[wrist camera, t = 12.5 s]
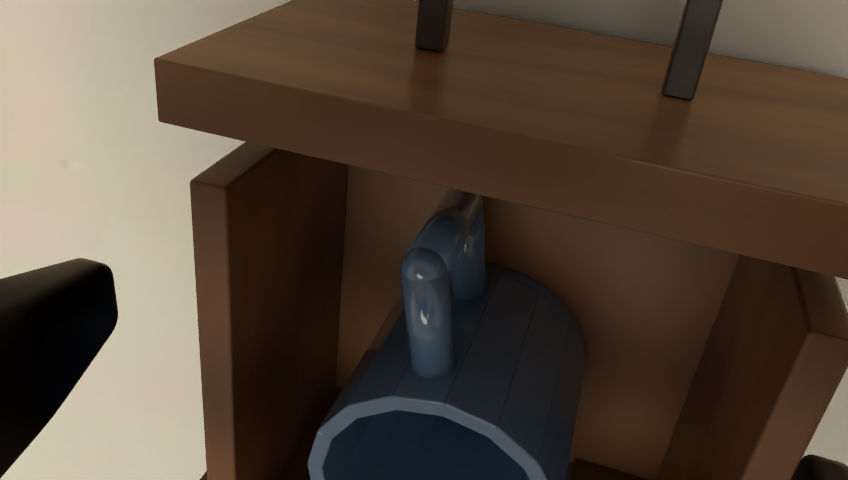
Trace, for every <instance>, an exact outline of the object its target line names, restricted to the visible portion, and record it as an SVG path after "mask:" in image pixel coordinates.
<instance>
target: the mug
mask: <svg viewBox="0 0 848 480" xmlns="http://www.w3.org/2000/svg"><path fill="white" fill-rule="evenodd" d="M401 280H402V289H403V295H402V297H401V298H400V300H399V301H398V302H397V303H395V305H394V306H393V308H392V309H391V311H390V313H389V314H388V316H387V318H386V319H385V321H384V322H383V324H382V326H381V327H380V329H379V331H378V332H377V334H376V336H375V337H374V339H373V340H372V342H371V344H370V345H369V347H368V349H367V350H366V352H365V354H364V355H363V357H362V358H361V360H360V362H359V363H358V365H357V367H356V368H355V370H354V372H353V373H352V375H351V376H350V378H349V380H348V381H347V383H346V385H345V386H344V388H343V390H342V391H341V393H340V394H339V396H338V398H337V399H336V401H335V403H334V404H333V406H332V407H331V409H330V411H329V412H328V414H327V416H326V417H325V419H324V421H323V422H322V424H321V425H320V427H319V429H318V430H317V433H316V436H315V440H314V443H313V446H312V449H311V452H310V455H309V458H308V470H309V475H310V480H572V474H573V469H574V463H575V457H576V451H577V445H578V439H579V433H580V427H581V421H582V416H583V410H584V404H585V398H586V392H587V377H588V369H589V354H588V348H587V343H586V340H585V337H584V334H583V332H582V329H581V327H580V325H579V324H578V322H577V320H576V318H575V317H574V315H573V314H572V313H571V311H570V310H569V309H568V307H567V306H566V305H565V304H564V303H563V302H562V301H561V300H560V299H559V298H558V297H557V296H556V295H555V294H554V293H553V292H551V291H550V290H549V289H548V288H546V287H545V286H543V285H542V284H540V283H539V282H537V281H536V280H534V279H532V278H530V277H528V276H526V275H524V274H522V273H519V272H516V271H514V270H511V269H508V268H504V267H500V266H496V265H489V264H486V245H485V226H484V207H483V198H482V195H478V194H473V193H469V192H464V191H460V190H456V189H451V188H449V189H448V190H447V192H446V193H445V195H444V196H443V198H442V199H441V201H440V202H439V204H438V205H437V207H436V208H435V210H434V211H433V213H432V214H431V216H430V217H429V219H428V220H427V222H426V223H425V225H424V226H423V228H422V230H421V231H420V233H419V234H418V236H417V237H416V239H415V240H414V242H413V243H412V245H411V246H410V248H409V249H408V251H407V252H406V254H405V255H404V257H403V259H402V261H401Z"/></svg>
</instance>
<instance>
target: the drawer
mask: <svg viewBox="0 0 848 480" xmlns="http://www.w3.org/2000/svg"><path fill="white" fill-rule="evenodd" d="M453 2H454V0H419V2H415V1H409V0H292V1H290V2H287V3H285V4H283V5H280V6H278V7H275V8H273V9H271V10H268V11H266V12H264V13H261V14H259V15H257V16H254V17H252V18H249V19H247V20H245V21H242V22H240V23H238V24H235V25H233V26H231V27H228V28H226V29H223V30H221V31H219V32H216V33H214V34H212V35H209V36H207V37H204V38H202V39H200V40H197V41H195V42H193V43H190V44H188V45H186V46H183V47H181V48H178V49H176V50H174V51H171V52H169V53H167V54H164V55H162V56H159V57H157V58H155V59H154V67H155V79H156V92H157V105H158V118H159V121H160V122H163V123H168V124H172V125H177V126H181V127H185V128H190V129H194V130H198V131H203V132H207V133H211V134H216V135H220V136H225V137H229V138H233V139H238V140H242V141H246V142H245V143H243V144H242V145H240V146H239V147H238V148H236V149H235V150H233V151H232V152H230V153H229V154H228V155H226V156H225V157H223V158H222V159H220V160H219V161H218V162H216V163H215V164H213V165H212V166H210V167H209V168H208V169H206V170H205V171H203V172H202V173H200V174H199V175H198V176H196V177H195V178H193V179H192V180H191V182H190V191H191V208H192V225H193V242H194V259H195V276H196V293H197V310H198V327H199V344H200V361H201V379H202V396H203V413H204V430H205V447H206V464H207V480H310V475H309V470H308V458H309V455H310V452H311V449H312V446H313V443H314V440H315V436H316V433H317V430H318V429H319V427H320V425H321V424H322V422H323V421H324V419H325V417H326V416H327V414H328V412H329V411H330V409H331V407H332V406H333V404H334V403H335V401H336V399H337V398H338V396H339V394H340V393H341V391H342V390H343V388H344V386H345V385H346V383H347V381H348V380H349V378H350V376H351V375H352V373H353V372H354V370H355V368H356V367H357V365H358V363H359V362H360V360H361V358H362V357H363V355H364V354H365V352H366V350H367V349H368V347H369V345H370V344H371V342H372V340H373V339H374V337H375V336H376V334H377V332H378V331H379V329H380V327H381V326H382V324H383V322H384V321H385V319H386V318H387V316H388V314H389V313H390V311H391V309H392V308H393V306H394V305H395V303H397V302H398V301H399V300H400V298H401V297H402V295H403V289H402V280H401V261H402V259H403V257H404V255H405V254H406V252H407V251H408V249H409V248H410V246H411V245H412V243H413V242H414V240H415V239H416V237H417V236H418V234H419V233H420V231H421V230H422V228H423V226H424V225H425V223H426V222H427V220H428V219H429V217H430V216H431V214H432V213H433V211H434V210H435V208H436V207H437V205H438V204H439V202H440V201H441V199H442V198H443V196H444V195H445V193H446V192H447V190H448V189H449V188H451V189H456V190H460V191H464V192H469V193H473V194H478V195H482V198H483V207H484V226H485V245H486V264H489V265H496V266H500V267H504V268H508V269H511V270H514V271H516V272H519V273H522V274H524V275H526V276H528V277H530V278H532V279H534V280H536V281H537V282H539V283H540V284H542V285H543V286H545V287H546V288H548V289H549V290H550V291H551V292H553V293H554V294H555V295H556V296H557V297H558V298H559V299H560V300H561V301H562V302H563V303H564V304H565V305H566V306H567V307H568V309H569V310H570V311H571V313H572V314H573V315H574V317H575V318H576V320H577V322H578V324H579V325H580V327H581V329H582V332H583V334H584V337H585V340H586V343H587V348H588V354H589V369H588V377H587V392H586V398H585V404H584V410H583V416H582V421H581V427H580V433H579V439H578V445H577V451H576V457H575V463H574V469H573V474H572V480H790V479H791V477H792V475H793V473H794V471H795V469H796V467H797V465H798V464H799V462H800V460H801V458H802V456H803V454H804V452H805V450H806V448H807V446H808V444H809V442H810V441H811V439H812V437H813V435H814V433H815V431H816V429H817V427H818V425H819V423H820V421H821V419H822V417H823V415H824V413H825V411H826V409H827V407H828V405H829V403H830V401H831V399H832V397H833V395H834V393H835V391H836V389H837V387H838V385H839V383H840V381H841V379H842V377H843V375H844V373H845V371H846V369H847V367H848V313H847V310H846V307H845V305H844V302H843V299H842V296H841V293H840V290H839V287H838V284H837V282H836V279H835V277H840V278H844V279H848V79H847V78H841V77H836V76H830V75H824V74H819V73H813V72H808V71H802V70H796V69H791V68H785V67H780V66H774V65H768V64H763V63H757V62H751V61H746V60H740V59H735V58H729V57H723V56H718V55H712V54H707V53H708V50H709V46H710V43H711V40H712V36H713V33H714V30H715V26H716V23H717V20H718V16H719V13H720V10H721V6H722V3H723V0H686V1H685V5H684V8H683V12H682V16H681V19H680V23H679V27H678V30H677V34H676V37H675V41H674V45H673V47H667V46H662V45H656V44H651V43H645V42H639V41H634V40H628V39H623V38H617V37H611V36H606V35H600V34H594V33H589V32H583V31H578V30H572V29H566V28H561V27H555V26H550V25H544V24H538V23H533V22H527V21H522V20H516V19H510V18H505V17H499V16H494V15H488V14H482V13H477V12H471V11H465V10H460V9H454V8H453Z"/></svg>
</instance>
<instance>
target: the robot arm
mask: <svg viewBox="0 0 848 480" xmlns="http://www.w3.org/2000/svg"><path fill="white" fill-rule="evenodd" d="M117 318H118V309H117V301H116V294H115V286H114V279H113V273H112V271H111V269H110V268H109V266H107V265H106V264H103V263H99V262H96V261H92V260H88V259H83V258H78V259H74V260H70V261H66V262H62V263H59V264H55V265H51V266H48V267H44V268H40V269H36V270H33V271H29V272H25V273H21V274H18V275H14V276H10V277H7V278H3V279H0V478H1V477H2V476H3V475H4V474H5V472H6V471H7V470H8V469H9V468H10V467H11V465H12V464H13V463H14V462H15V461H16V460H17V458H18V457H19V456H20V455H21V454H22V453H23V451H24V450H25V449H26V448H27V447H28V446H29V444H30V443H31V442H32V441H33V440H34V439H35V437H36V436H37V435H38V434H39V433H40V432H41V430H42V429H43V428H44V427H45V426H46V424H47V423H48V422H49V421H50V419H51V418H52V417H53V416H54V414H55V413H56V411H57V410H58V409H59V407H60V406H61V405H62V403H63V402H64V401H65V399H66V398H67V396H68V395H69V393H70V392H71V391H72V389H73V388H74V386H75V385H76V383H77V382H78V381H79V379H80V378H81V376H82V375H83V373H84V372H85V371H86V369H87V368H88V366H89V365H90V363H91V362H92V361H93V359H94V358H95V356H96V355H97V353H98V352H99V351H100V349H101V348H102V346H103V345H104V343H105V342H106V341H107V339H108V338H109V336H110V335H111V333H112V332H113V330H114V328H115V326H116V323H117ZM790 480H848V466H846V465H845V464H843V463H841V462H838V461H834V460H830V459H827V458H823V457H819V456H816V455H807V456H804V457H803V458H802V459H801V460H800V462H799V464H798V465H797V467H796V469H795V471H794V473H793V475H792V477H791V479H790Z"/></svg>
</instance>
